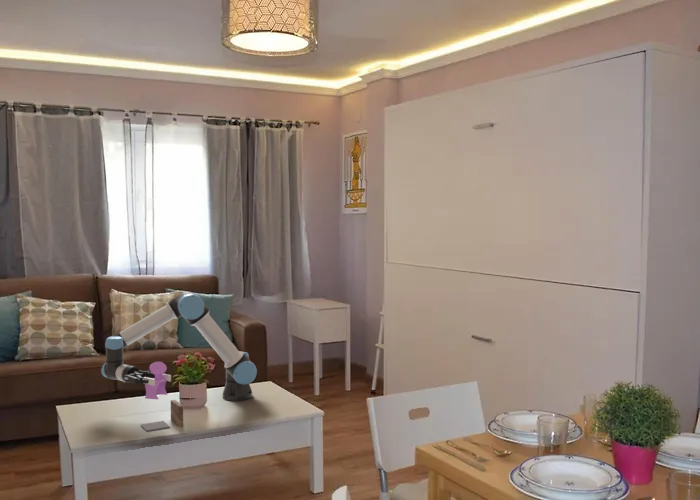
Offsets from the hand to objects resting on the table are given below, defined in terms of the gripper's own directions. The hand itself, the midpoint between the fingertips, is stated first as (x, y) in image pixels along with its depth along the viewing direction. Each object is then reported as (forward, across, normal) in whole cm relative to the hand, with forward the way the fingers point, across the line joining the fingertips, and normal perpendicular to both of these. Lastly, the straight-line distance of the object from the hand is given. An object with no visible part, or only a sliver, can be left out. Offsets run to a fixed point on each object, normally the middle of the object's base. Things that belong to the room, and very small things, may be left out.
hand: (162, 380), depth 288 cm
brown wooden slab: (-1, -9, -21) cm, 23 cm away
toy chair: (-5, 0, -8) cm, 9 cm away
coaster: (-5, 0, -21) cm, 22 cm away
